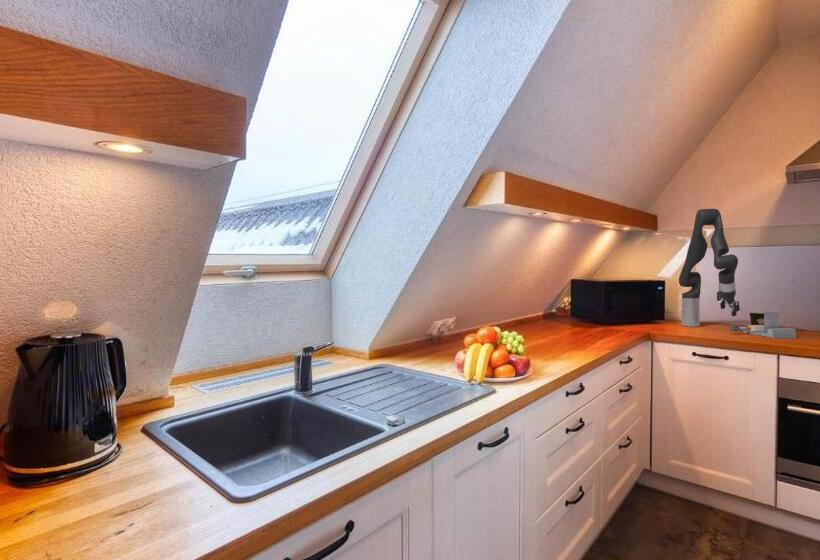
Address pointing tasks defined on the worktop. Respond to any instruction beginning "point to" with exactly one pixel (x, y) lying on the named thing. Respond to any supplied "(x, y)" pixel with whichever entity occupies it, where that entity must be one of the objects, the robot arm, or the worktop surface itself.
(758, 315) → the coffee mug
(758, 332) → the vise
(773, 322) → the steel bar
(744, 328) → the vise jaw
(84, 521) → the worktop surface
